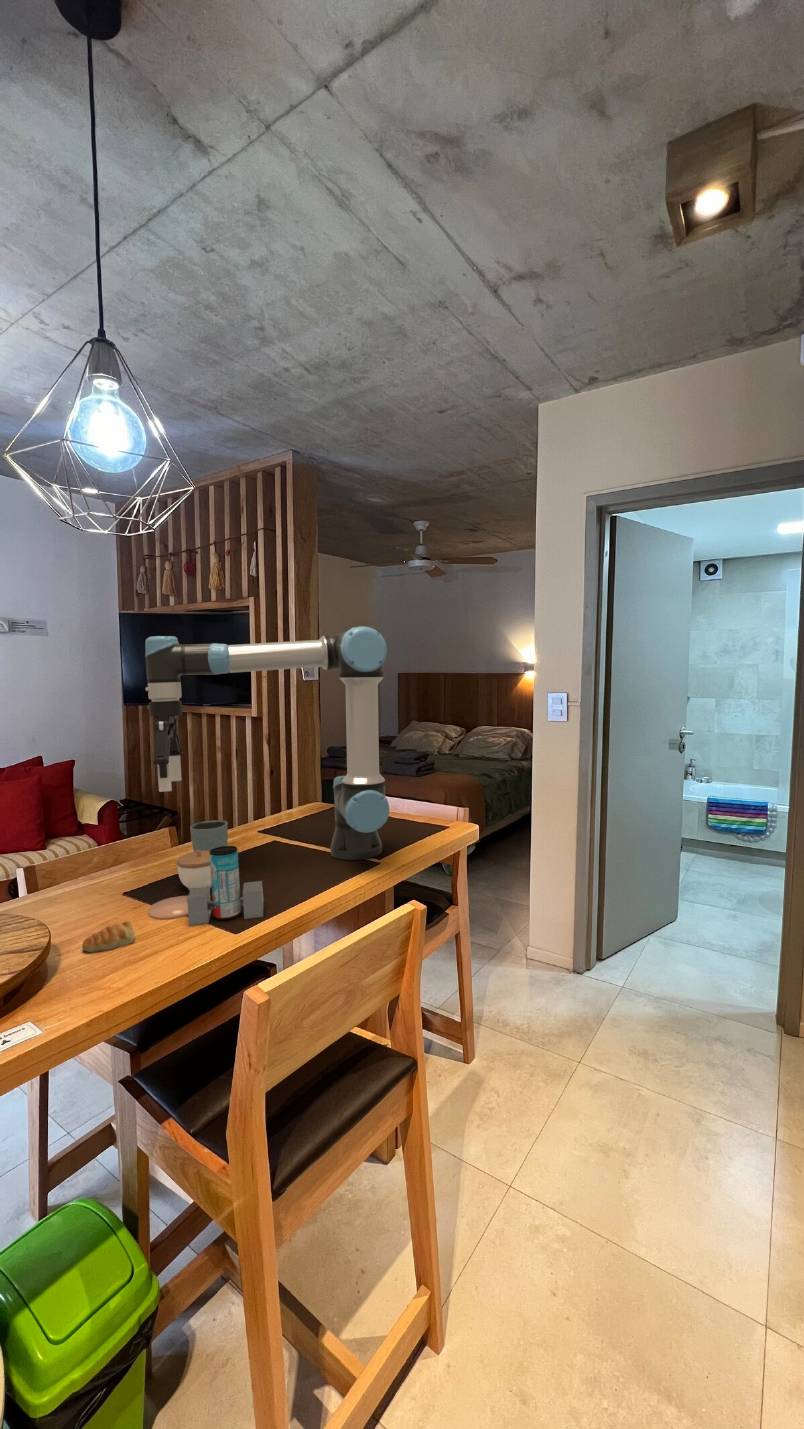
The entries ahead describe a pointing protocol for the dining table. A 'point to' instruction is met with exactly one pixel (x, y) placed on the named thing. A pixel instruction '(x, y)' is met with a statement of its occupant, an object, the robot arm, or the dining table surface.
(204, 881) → the lidded jar
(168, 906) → the coaster
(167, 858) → the dining table surface
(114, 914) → the dining table surface
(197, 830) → the green plant pot
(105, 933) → the pastry
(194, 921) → the dumbbell
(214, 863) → the beverage can
